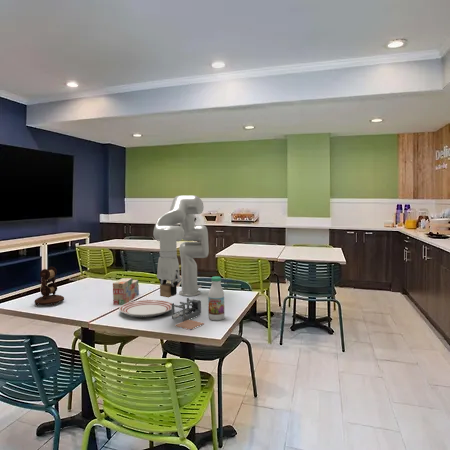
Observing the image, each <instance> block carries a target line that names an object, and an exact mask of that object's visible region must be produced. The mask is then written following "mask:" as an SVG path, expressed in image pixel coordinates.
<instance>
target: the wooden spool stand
mask: <svg viewBox="0 0 450 450" xmlns="http://www.w3.org/2000/svg"><path fill="white" fill-rule="evenodd" d="M39 275H40V278H41V284H40V285H41V286H40V294H41V296H38V298H36V299H35V300H34V304H35V307H37V306H38V305H39V306H47V305H51V306H52V307H54V306H55V304H59V303H61V302H64V300H65V297H64V296H62V295H60V294H56V293H57V291H58V286H57V284H56V283H55V281H56V275H57V269H56V268H55V266H49V267H48V268H47V269H46V268H44V269H42V270H40V272H39Z"/></svg>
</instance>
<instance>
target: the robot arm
mask: <svg viewBox="0 0 450 450" xmlns="http://www.w3.org/2000/svg"><path fill="white" fill-rule="evenodd" d="M203 211H204V201H203V200H202V198H200V197H199V196H197V195H195V194H193V195H192V194H191V195H188V194H187V195H186V194H185V195H183V194H182V195H181V194H180V195H176V196H175V197H174V198H173V200H172V202H171V206H170V209H169V211H167V212H166V213H164V214H163V215H161V216H160V217H158V219H157V220H156V222H155V224H154V228H153V234H152V235H153V238H154V240H155V241H157V242H159V252H158V253H159V257H158V261H157V270H156V271H157V272H156V273H157V274H156V278H157V279H158V281H159V283H160V284H159V285H162V284H166V283H168V281H169V282H170V283H171V285H172V287H171V295H172V297H174V296H173V295H175V294H176V295H177V291H178V290H177V289H178V288H177V287H178V285H179V284H180V283H181V290H180V291H179V292H178V295H180V296H183V297H193V296H194V297H195V296H198V295H200V294H201V291H200V290H199V289H201V288H202V284H199V285H198V264H197V262H196V261H195V258H196V259H197V258H198V259H204V258H205V259H206V258H208V256H209V253H210V252H209V250H210V249H209V246H210V245H209V232H208V231H209V230H208V228H207V226H206V225H204V224H195V223H196V222H195V216H194V215H201V214H202V213H203ZM178 224H179V225H178ZM182 240H183V241H184V242H181V244H179V247H178V248H177V245H178V243H177V242H180V241H182ZM177 249H178V250H179V257H180V263H179V259H178V256H177V255H178V252H177V251H178V250H177ZM180 266H181V267H180ZM180 270H181V271H180ZM180 272H181V276H180ZM176 295H175V296H176Z"/></svg>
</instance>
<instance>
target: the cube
mask: <svg viewBox="0 0 450 450" xmlns="http://www.w3.org/2000/svg"><path fill="white" fill-rule="evenodd" d="M171 287H172V285H171V282H166V284H162V285H161V284H159V296H160V297H162V298H163V297H164V298H168V299H169V298H172V297H174V296H176V295H177V294H175V295H173V296H172V295H171Z"/></svg>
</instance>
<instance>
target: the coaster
mask: <svg viewBox="0 0 450 450" xmlns="http://www.w3.org/2000/svg"><path fill="white" fill-rule="evenodd" d="M202 324H203V325H204V324H205V323H204V322H201V321H197V320H192V319H190V320H189V319H188V320H186V321H184V322H183V321H181V322H179V323H177V324H175V327H176V326H177V328H180V327H182V328H181V329H184V328H187V329H186V330H188V329H193V328H195V327H197V326H199V327H201V326H203V325H202ZM200 325H201V326H200ZM197 328H198V327H197ZM195 329H196V328H195ZM193 330H194V329H193Z"/></svg>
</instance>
